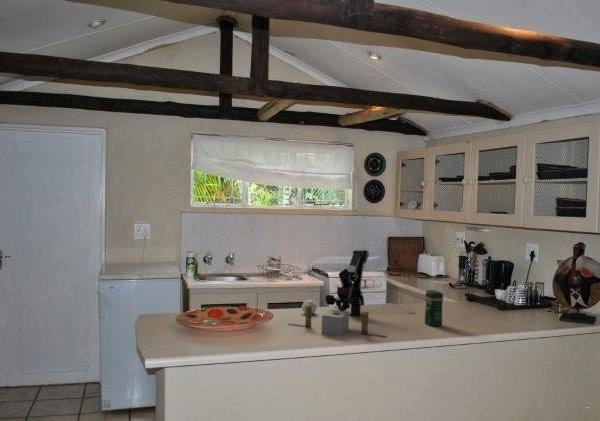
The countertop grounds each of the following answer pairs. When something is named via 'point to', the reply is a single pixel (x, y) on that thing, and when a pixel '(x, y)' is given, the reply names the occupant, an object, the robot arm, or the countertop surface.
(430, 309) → the coffee jar
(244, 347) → the countertop surface
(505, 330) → the countertop surface
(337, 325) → the gray block
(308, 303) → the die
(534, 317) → the countertop surface
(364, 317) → the brown l-shaped pieces
